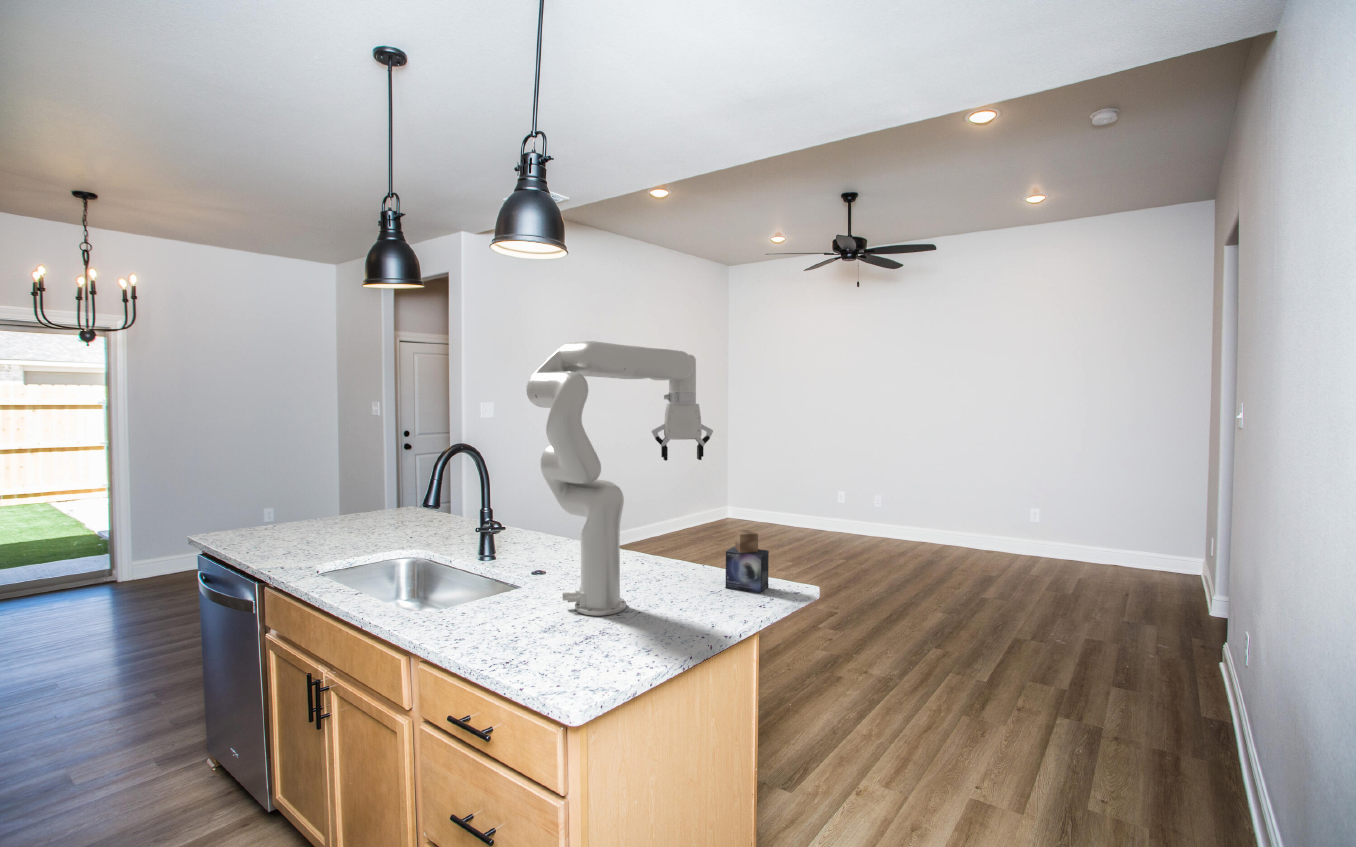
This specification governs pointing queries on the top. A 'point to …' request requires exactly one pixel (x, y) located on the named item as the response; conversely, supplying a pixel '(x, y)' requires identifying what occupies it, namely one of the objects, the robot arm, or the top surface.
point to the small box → (747, 570)
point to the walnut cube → (746, 541)
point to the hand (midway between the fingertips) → (682, 459)
